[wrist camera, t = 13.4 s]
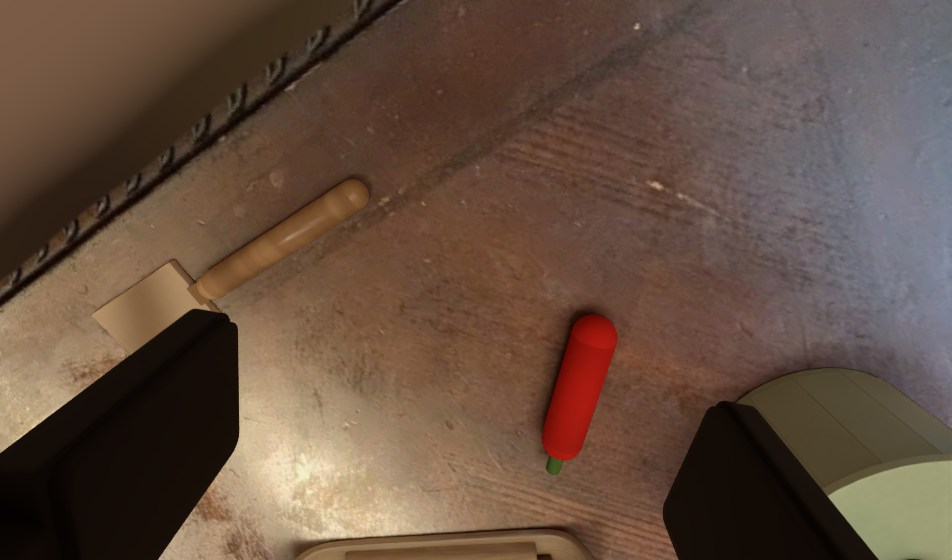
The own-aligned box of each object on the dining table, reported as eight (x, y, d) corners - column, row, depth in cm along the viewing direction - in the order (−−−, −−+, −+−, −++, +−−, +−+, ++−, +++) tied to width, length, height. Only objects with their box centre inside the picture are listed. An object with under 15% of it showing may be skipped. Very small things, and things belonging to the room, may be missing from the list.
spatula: (342, 145, 27) (332, 148, 25) (394, 221, 29) (388, 229, 27) (97, 311, 32) (75, 323, 30) (153, 369, 33) (135, 383, 32)
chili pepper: (590, 327, 27) (631, 329, 28) (570, 305, 30) (608, 307, 31) (541, 486, 32) (578, 484, 33) (527, 456, 34) (562, 455, 35)
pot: (747, 349, 31) (833, 437, 23) (958, 389, 31) (1114, 487, 24) (672, 513, 36) (722, 630, 28) (854, 545, 37) (953, 668, 29)
